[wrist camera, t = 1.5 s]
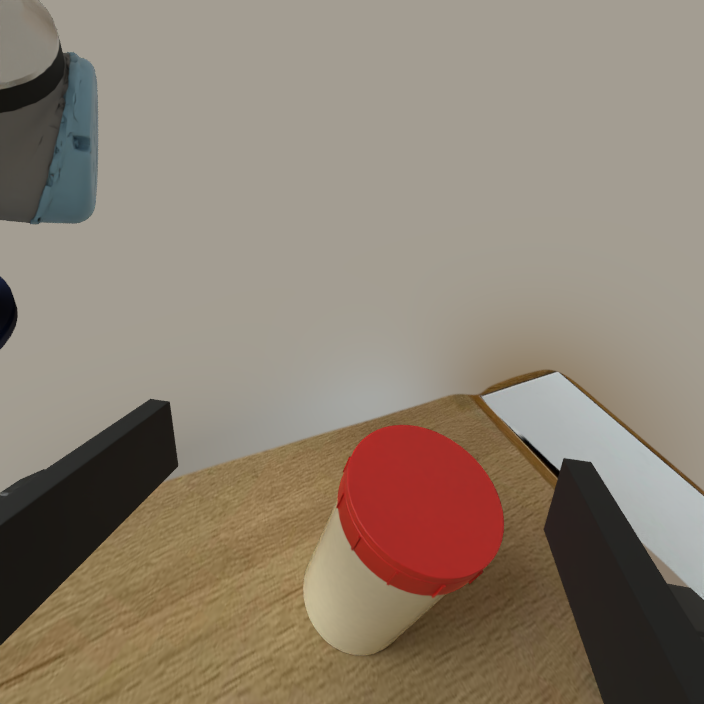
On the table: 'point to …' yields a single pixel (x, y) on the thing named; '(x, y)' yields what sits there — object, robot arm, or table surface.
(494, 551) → the lid
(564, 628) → the table surface
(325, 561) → the jar
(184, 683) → the table surface
